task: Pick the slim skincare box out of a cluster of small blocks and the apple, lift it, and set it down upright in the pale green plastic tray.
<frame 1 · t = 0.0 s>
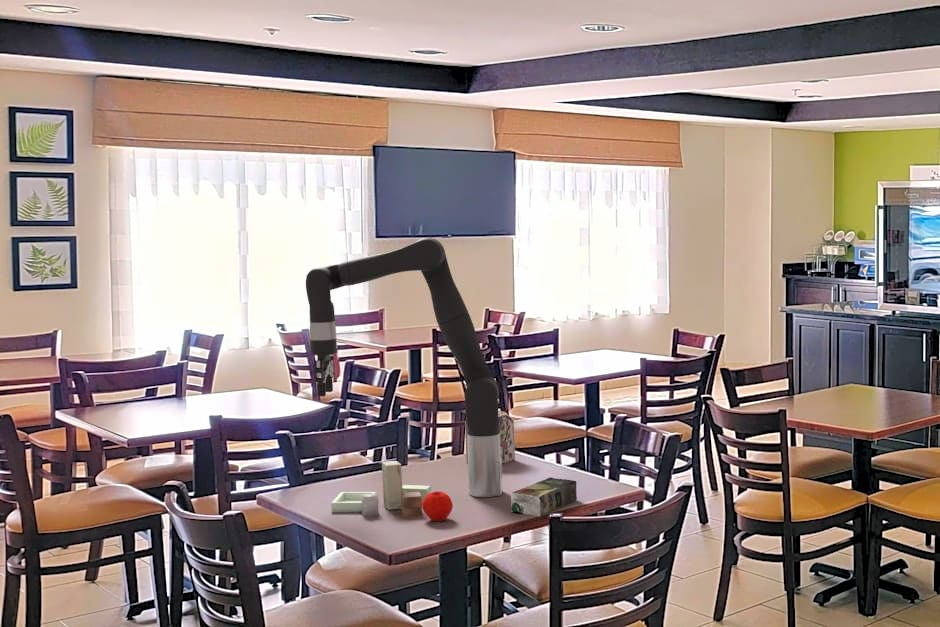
hand: (325, 394, 302), 29 cm above the table, fingers open, 8 cm apart
walnut block: (411, 513, 281), on the table
grey cylinder: (370, 514, 282), on the table
apple: (437, 520, 274), on the table
sage block: (415, 501, 294), on the table
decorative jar: (490, 462, 341), on the table
skincare box: (393, 507, 288), on the table
tray: (354, 506, 290), on the table
juice carton: (543, 508, 284), on the table
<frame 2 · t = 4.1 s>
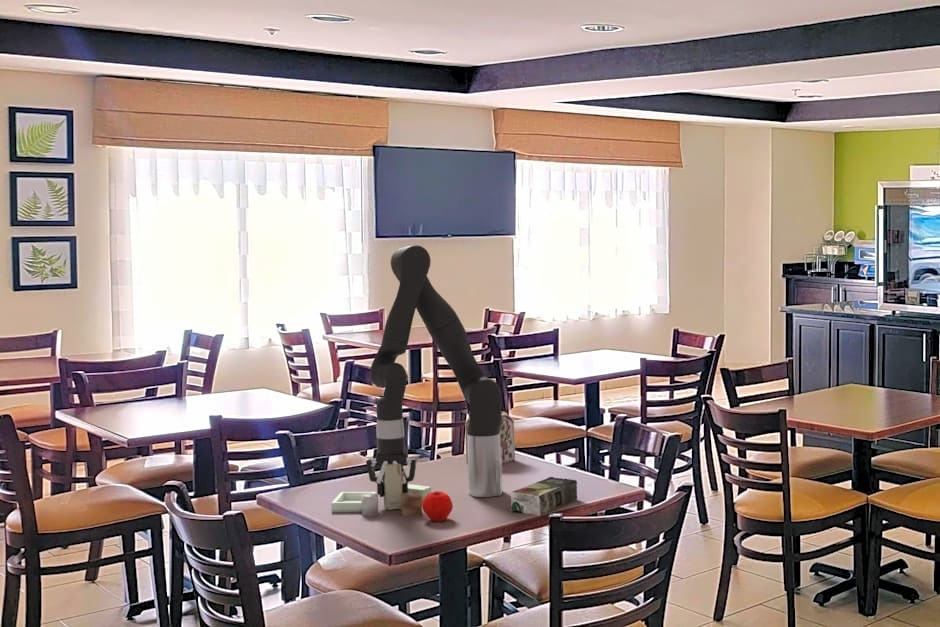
hand: (392, 496, 288), 3 cm above the table, fingers closed on skincare box, 5 cm apart
skincare box: (393, 507, 288), on the table, touching gripper
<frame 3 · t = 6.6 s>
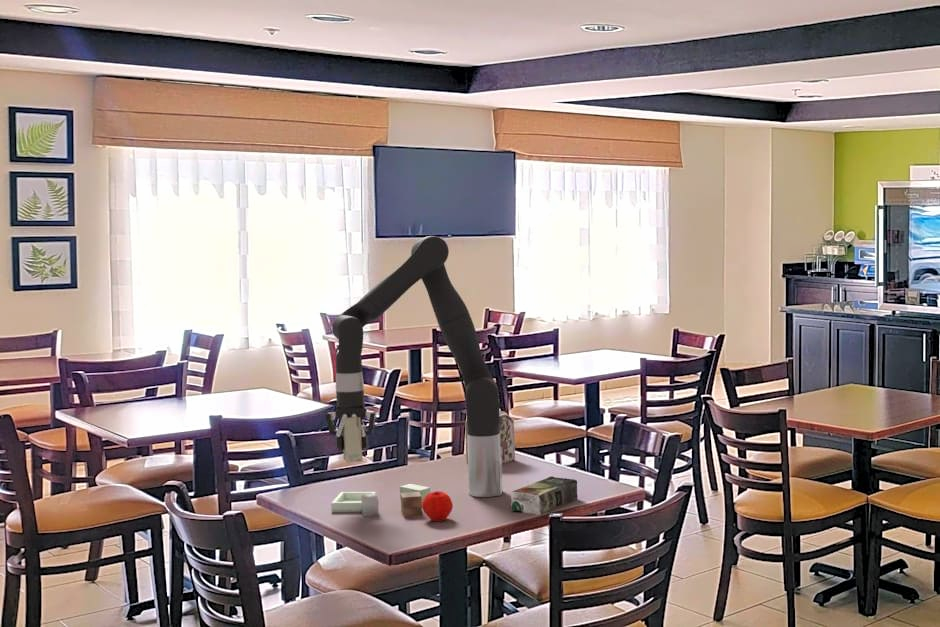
hand: (352, 449, 289), 16 cm above the table, fingers closed on skincare box, 5 cm apart
skincare box: (353, 461, 289), point 13 cm above the table, touching gripper
when the fingers open (5 cm above the table, at t = 9.3 s): skincare box drops 1 cm, resting on tray.
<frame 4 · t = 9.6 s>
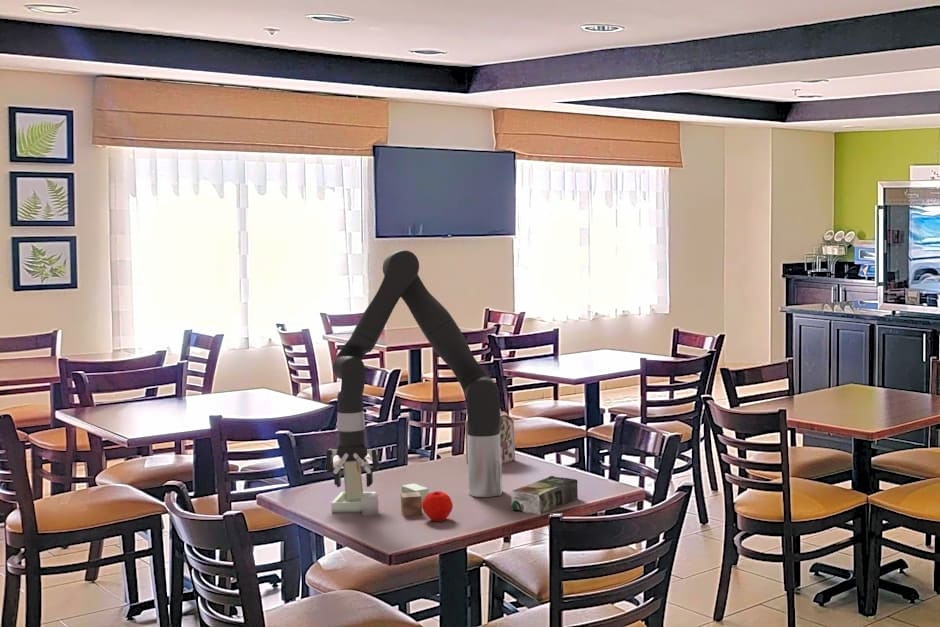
hand: (353, 486, 290), 6 cm above the table, fingers open, 8 cm apart
skincare box: (354, 504, 290), resting on tray
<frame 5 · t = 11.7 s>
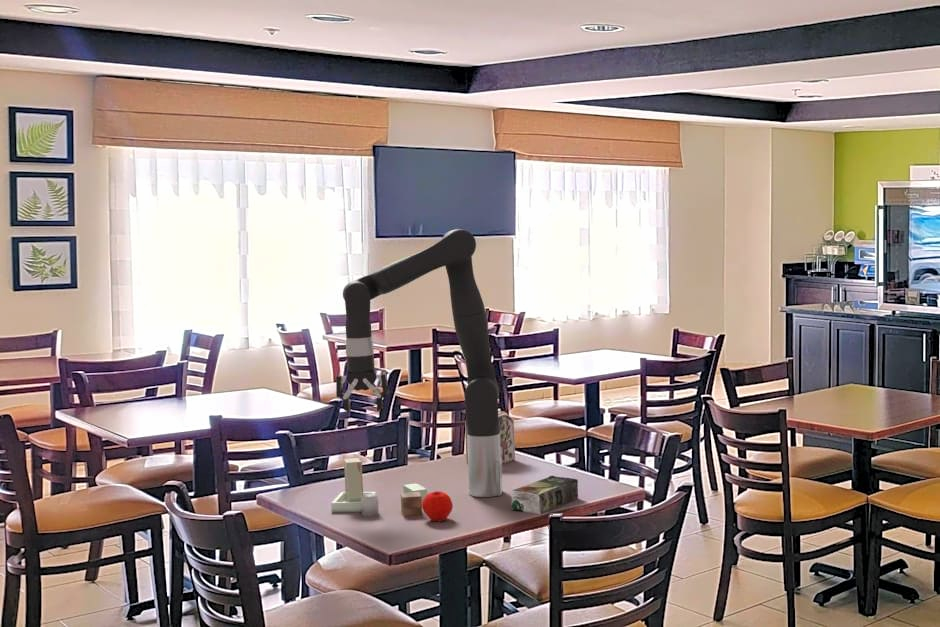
hand: (363, 411, 293), 25 cm above the table, fingers open, 8 cm apart
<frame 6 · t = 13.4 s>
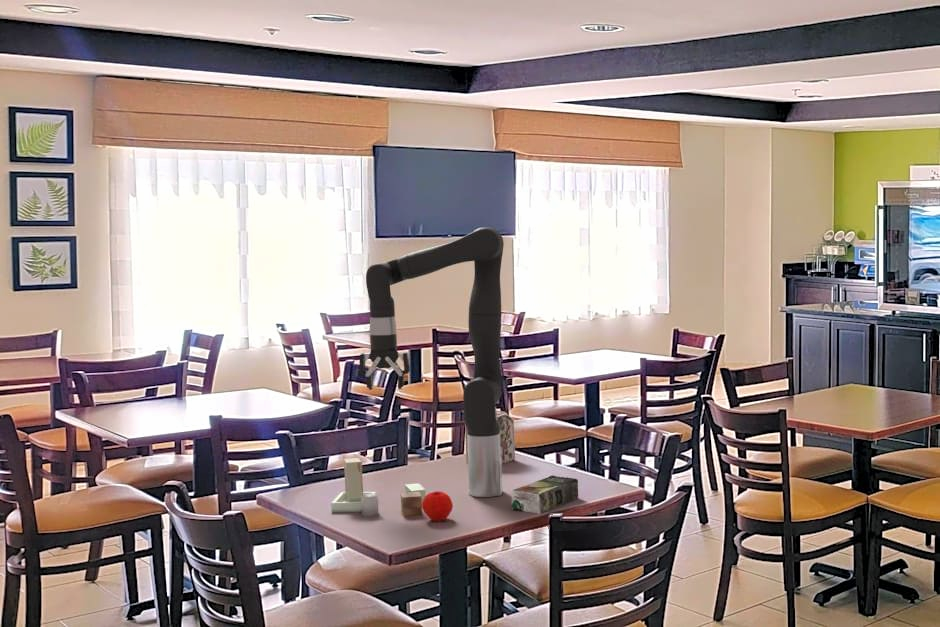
hand: (385, 389, 302), 30 cm above the table, fingers open, 8 cm apart
at the end: skincare box inside the target area on the tray (0.1 cm from its centre), point 0.4 cm above the tray's base; skincare box tilted 0°; the gripper is holding nothing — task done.
